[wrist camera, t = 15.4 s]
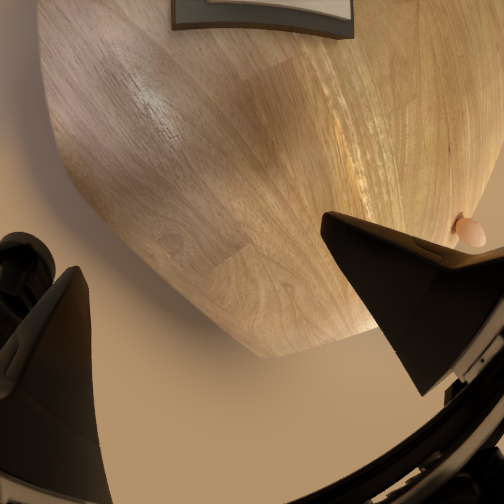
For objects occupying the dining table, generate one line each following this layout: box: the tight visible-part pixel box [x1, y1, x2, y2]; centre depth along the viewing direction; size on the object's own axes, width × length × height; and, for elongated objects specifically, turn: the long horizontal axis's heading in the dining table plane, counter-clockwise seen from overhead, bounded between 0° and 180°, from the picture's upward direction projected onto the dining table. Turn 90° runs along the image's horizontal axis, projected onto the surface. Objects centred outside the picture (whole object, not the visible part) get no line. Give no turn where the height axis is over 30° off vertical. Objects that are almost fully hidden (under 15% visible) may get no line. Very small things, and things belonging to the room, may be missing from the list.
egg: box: [455, 218, 486, 247], centre depth 39 cm, size 5×5×7 cm
